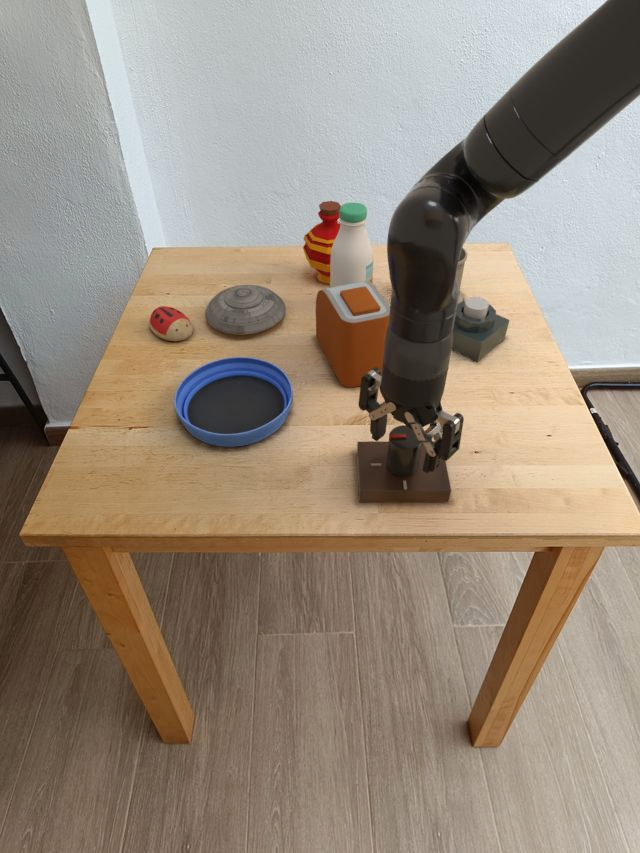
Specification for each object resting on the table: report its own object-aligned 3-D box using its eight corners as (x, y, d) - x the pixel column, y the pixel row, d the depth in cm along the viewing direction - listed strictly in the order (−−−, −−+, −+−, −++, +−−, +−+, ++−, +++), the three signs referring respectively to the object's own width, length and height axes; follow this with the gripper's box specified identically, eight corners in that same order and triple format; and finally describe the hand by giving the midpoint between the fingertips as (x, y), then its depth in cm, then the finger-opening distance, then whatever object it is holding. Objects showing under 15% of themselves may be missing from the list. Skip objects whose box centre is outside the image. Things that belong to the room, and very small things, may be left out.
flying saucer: (295, 300, 113) (294, 275, 109) (272, 345, 103) (269, 320, 99) (223, 290, 116) (219, 266, 112) (193, 334, 106) (188, 308, 102)
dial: (416, 452, 81) (421, 423, 77) (420, 477, 78) (425, 447, 74) (385, 452, 81) (388, 423, 77) (387, 477, 78) (390, 447, 74)
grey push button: (491, 312, 100) (493, 302, 98) (478, 322, 98) (480, 312, 96) (471, 303, 102) (473, 293, 100) (458, 313, 100) (460, 303, 98)
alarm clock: (391, 379, 96) (398, 309, 87) (343, 390, 94) (344, 320, 85) (360, 329, 106) (363, 262, 97) (315, 338, 104) (314, 270, 95)
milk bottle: (355, 326, 107) (359, 222, 93) (322, 311, 110) (320, 209, 96) (378, 306, 111) (385, 205, 97) (345, 293, 115) (347, 193, 100)
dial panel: (439, 452, 84) (441, 440, 83) (448, 502, 78) (451, 489, 76) (356, 453, 85) (357, 440, 83) (359, 502, 78) (360, 490, 76)
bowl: (249, 468, 83) (246, 452, 80) (154, 423, 90) (149, 406, 87) (315, 395, 94) (314, 378, 91) (226, 360, 100) (223, 343, 98)
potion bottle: (356, 264, 122) (358, 194, 112) (353, 291, 115) (355, 219, 105) (306, 263, 123) (304, 193, 113) (300, 289, 116) (297, 217, 105)
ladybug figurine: (173, 349, 103) (169, 332, 100) (140, 327, 108) (136, 311, 105) (202, 332, 106) (199, 315, 104) (169, 311, 111) (166, 295, 109)
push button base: (504, 338, 104) (512, 310, 99) (477, 362, 99) (483, 333, 95) (462, 319, 108) (467, 290, 104) (433, 340, 103) (438, 312, 99)
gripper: (488, 368, 65) (464, 464, 76) (387, 318, 72) (379, 413, 83) (449, 402, 61) (430, 497, 72) (347, 345, 68) (344, 441, 79)
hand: (403, 452), depth 78 cm, fingers open, 8 cm apart
